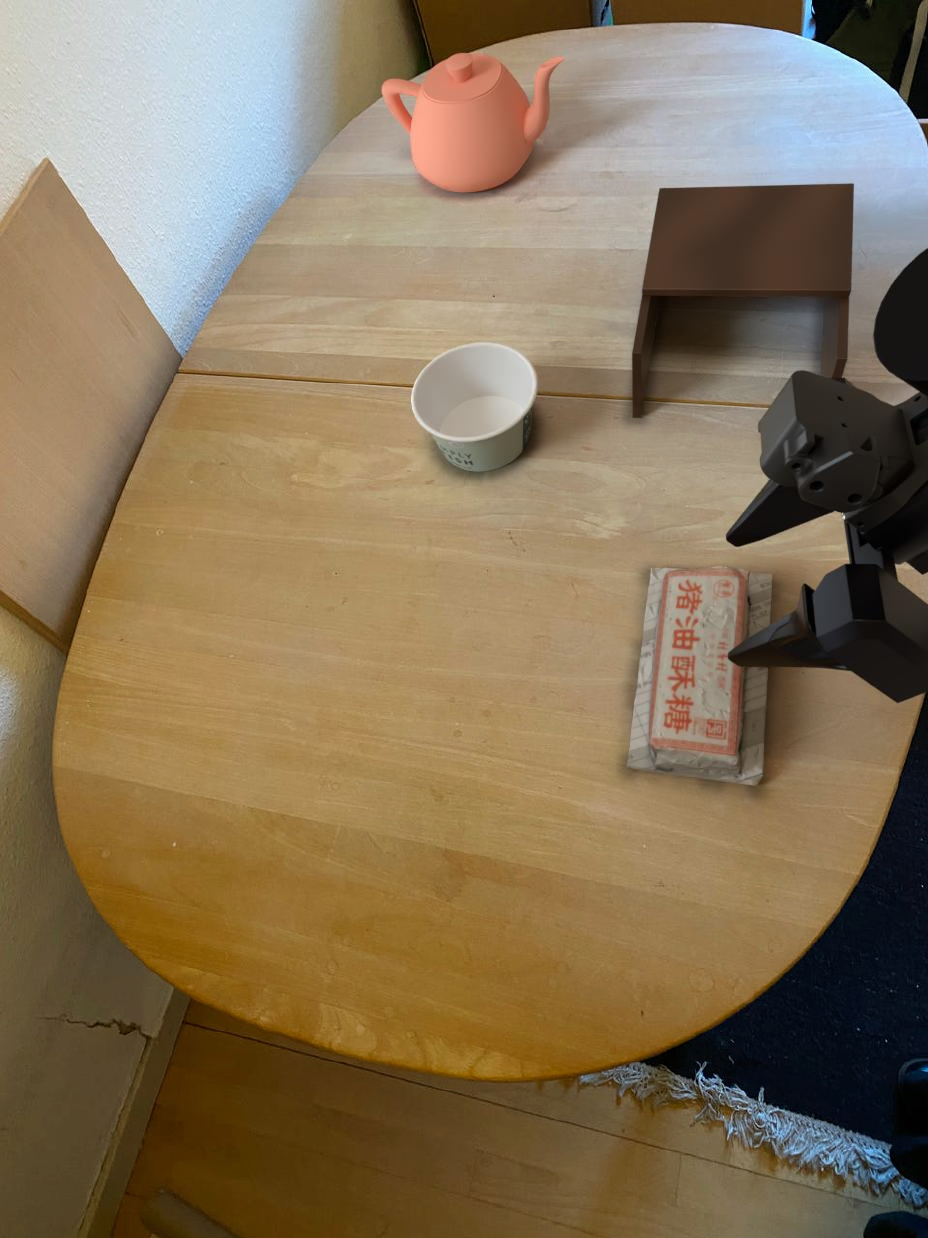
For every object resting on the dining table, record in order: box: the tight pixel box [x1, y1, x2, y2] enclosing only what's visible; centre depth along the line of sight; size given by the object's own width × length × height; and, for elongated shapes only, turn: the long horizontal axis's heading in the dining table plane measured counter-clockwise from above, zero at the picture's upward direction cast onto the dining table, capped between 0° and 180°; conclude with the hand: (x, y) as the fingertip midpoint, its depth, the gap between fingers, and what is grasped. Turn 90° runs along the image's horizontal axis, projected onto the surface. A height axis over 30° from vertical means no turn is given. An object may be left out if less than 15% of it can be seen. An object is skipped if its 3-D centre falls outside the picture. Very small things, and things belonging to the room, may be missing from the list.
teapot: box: [381, 52, 565, 193], centre depth 98 cm, size 22×15×12 cm
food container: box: [410, 341, 539, 473], centre depth 80 cm, size 12×12×6 cm
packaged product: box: [626, 565, 773, 787], centre depth 65 cm, size 18×5×10 cm
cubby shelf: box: [631, 182, 855, 419], centre depth 79 cm, size 18×21×9 cm
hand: (731, 597), depth 49 cm, fingers open, 9 cm apart
